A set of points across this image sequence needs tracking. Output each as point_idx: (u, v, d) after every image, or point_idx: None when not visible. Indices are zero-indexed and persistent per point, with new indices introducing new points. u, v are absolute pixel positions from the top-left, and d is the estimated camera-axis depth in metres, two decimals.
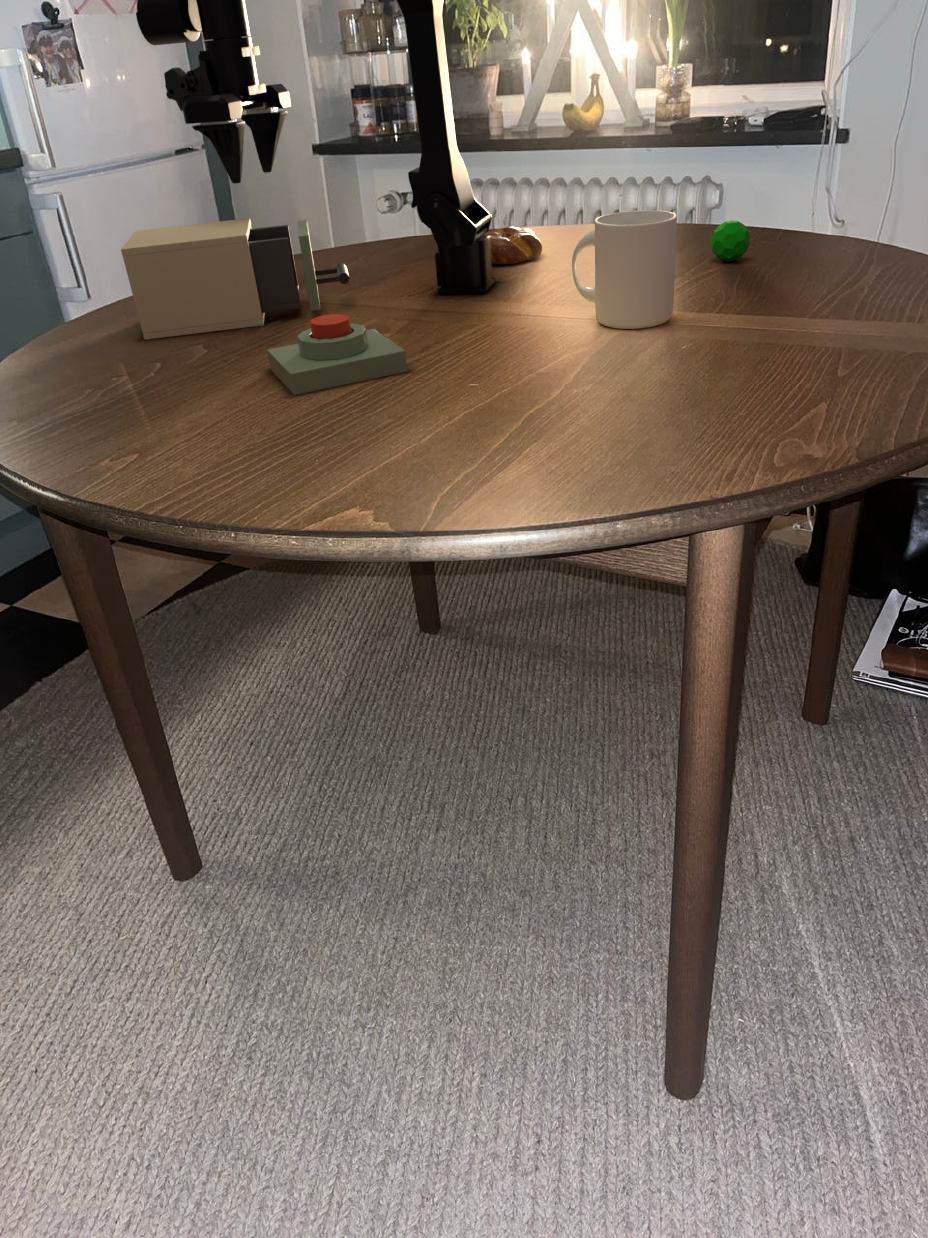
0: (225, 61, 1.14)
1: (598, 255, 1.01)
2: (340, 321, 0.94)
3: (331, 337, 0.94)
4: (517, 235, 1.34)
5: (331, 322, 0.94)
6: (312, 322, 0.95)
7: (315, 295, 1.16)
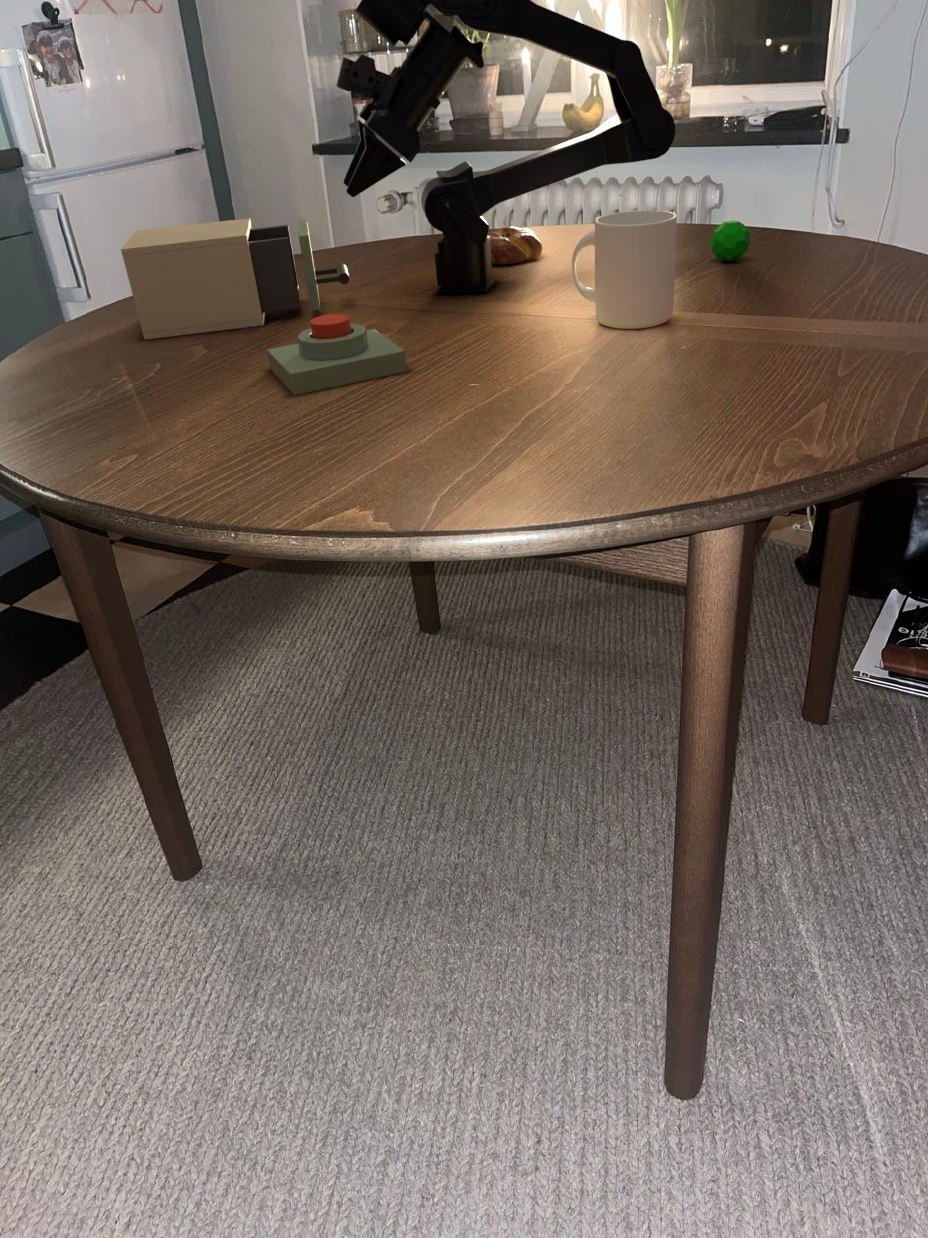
0: (419, 98, 1.10)
1: (598, 255, 1.01)
2: (340, 321, 0.94)
3: (331, 337, 0.94)
4: (517, 235, 1.34)
5: (331, 322, 0.94)
6: (312, 322, 0.95)
7: (315, 295, 1.16)
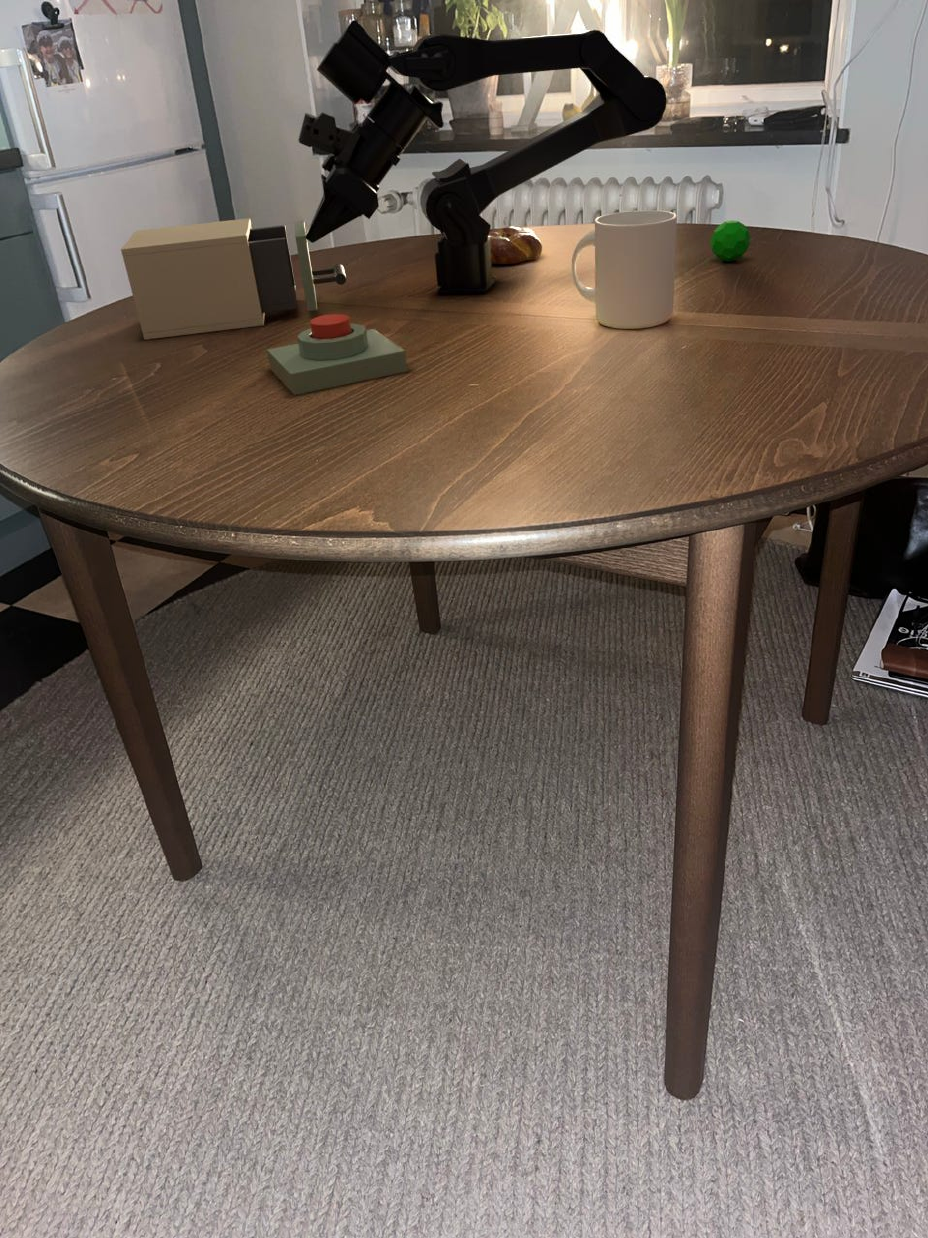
0: (379, 155, 1.12)
1: (598, 255, 1.01)
2: (340, 321, 0.94)
3: (331, 337, 0.94)
4: (517, 235, 1.34)
5: (331, 322, 0.94)
6: (312, 322, 0.95)
7: (312, 295, 1.16)
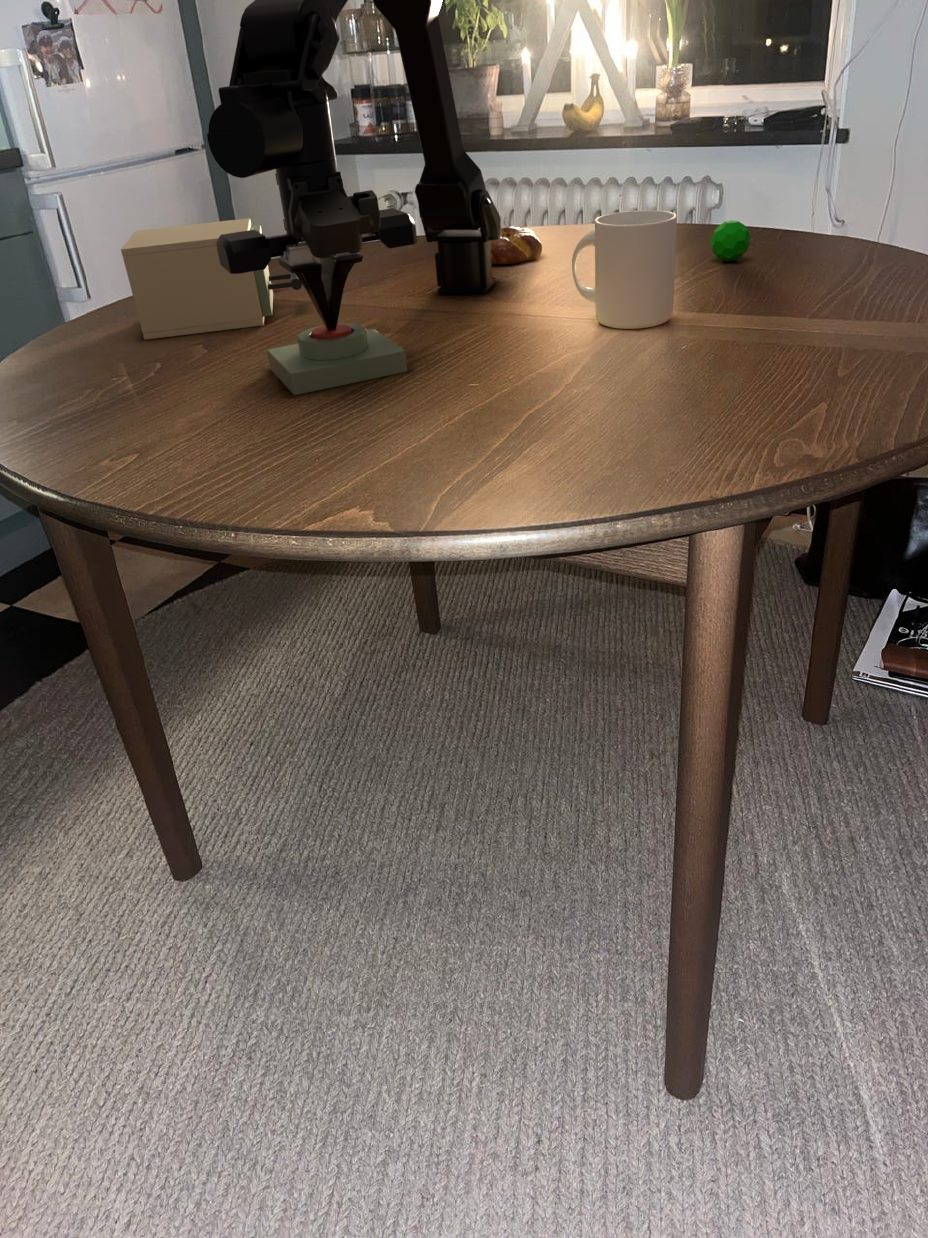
0: None
1: (598, 255, 1.01)
2: (341, 331, 0.95)
3: None
4: (517, 235, 1.34)
5: (333, 332, 0.95)
6: (314, 332, 0.95)
7: (266, 300, 1.16)
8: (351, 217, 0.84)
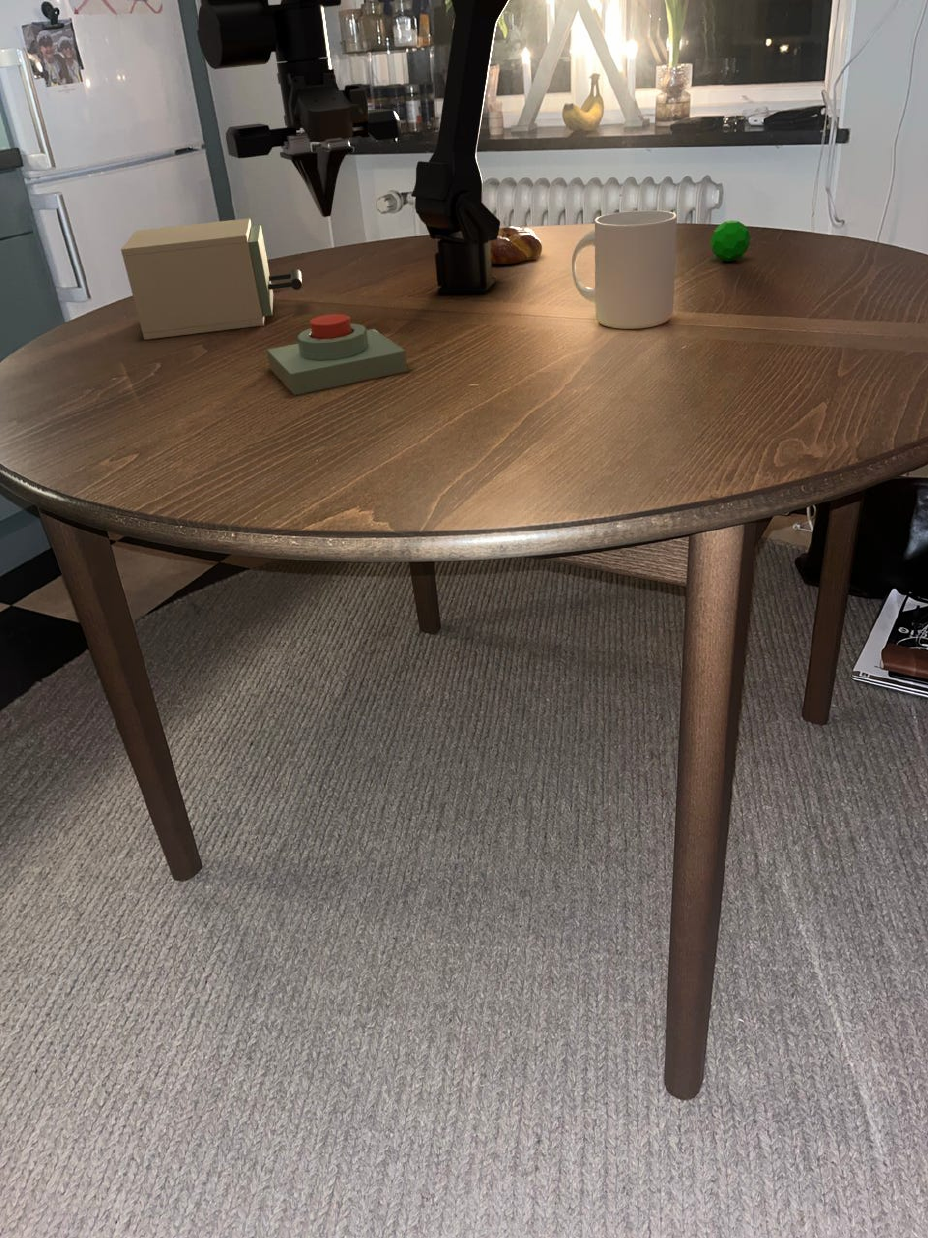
0: None
1: (598, 255, 1.01)
2: (340, 321, 0.94)
3: (331, 337, 0.94)
4: (517, 235, 1.34)
5: (331, 322, 0.94)
6: (312, 322, 0.95)
7: (266, 300, 1.16)
8: (343, 105, 0.97)
